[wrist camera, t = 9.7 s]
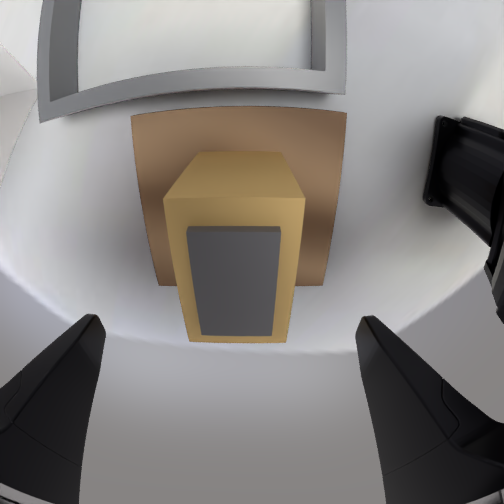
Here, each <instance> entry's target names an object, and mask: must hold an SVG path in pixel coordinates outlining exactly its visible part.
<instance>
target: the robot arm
mask: <svg viewBox="0 0 504 504" xmlns="http://www.w3.org/2000/svg"><path fill="white" fill-rule="evenodd" d="M443 121H444V125H443V124H442V123H443ZM430 196H431V198H430V199H429V197H430ZM423 201H424V202H425V203H426V204H427V205H429V206H437V207H445V208H446V209H447V210H449V211H450V212H451V213H452V214H454V215H455V216H456V217H457V218H458V219H459V220H461V221H462V222H463V223H464V224H465V225H466V226H468V227H469V228H470V229H471V230H472V231H473V232H474V233H475V234H476V235H478V236H479V237H480V238H481V239H482V240H483V241H484V242H485V243H486V244H487V245H488V246H489V247H491V248H490V252H489V256H488V260H486V262H485V266H484V270H485V272H486V275H487V277H488V279H489V281H490V284H491V286H492V294H493V296H494V299H495V302H496V305H497V309H496V313H497V315H498V316H499V318H500V319H501V321H502V322H503V324H504V130H503V129H500V128H497V127H495V126H492V125H489V124H486V123H483V122H480V121H477V120H474V119H470V118H467V117H463V118H461V122H459V121H456V120H454V119H451V118H448V117H445V116H439V117H438V118H437V121H436V129H435V136H434V143H433V150H432V156H431V162H430V167H429V172H428V177H427V182H426V186H425V191H424V195H423ZM105 338H106V332H105V329H104V327H103V325H102V323H101V321H100V319H99V317H98V316H97V315H95V314H86V315H85V316H83V317H82V318H81V319H80V320H79V321H77V322H76V323H75V324H74V325H72V326H71V327H70V328H69V329H68V330H67V331H65V332H64V333H63V334H62V335H61V336H59V337H58V338H57V339H56V340H55V341H54V342H52V343H51V344H50V345H49V346H48V347H47V348H45V349H44V350H43V351H42V352H41V353H40V354H39V355H37V356H36V357H35V358H34V359H33V360H32V361H31V362H30V363H29V364H27V365H26V366H25V367H24V368H23V369H22V371H20V372H19V373H17V374H16V375H15V376H14V377H13V378H12V379H11V380H10V381H9V382H8V383H6V384H5V385H4V386H3V387H2V388H0V504H79V492H80V479H81V470H82V467H81V466H82V460H83V453H84V446H85V439H86V433H87V427H88V422H89V417H90V412H91V407H92V402H93V398H94V393H95V389H96V385H97V381H98V377H99V372H100V367H101V360H102V354H103V349H104V343H105ZM355 338H356V344H357V351H358V356H359V363H360V371H361V377H362V381H363V385H364V389H365V393H366V398H367V402H368V406H369V410H370V414H371V419H372V424H373V428H374V433H375V438H376V443H377V448H378V453H379V459H380V464H381V470H382V475H383V484H384V490H385V497H386V504H504V423H500V422H497V421H495V420H493V419H491V418H490V417H489V416H487V415H486V414H485V413H483V412H482V411H481V410H480V409H478V408H477V407H476V406H475V405H473V404H472V403H471V402H470V401H468V400H467V399H466V398H465V397H463V396H462V395H461V394H460V393H459V392H458V391H456V390H455V389H454V388H453V387H452V386H451V385H450V384H449V383H448V382H447V381H446V380H445V379H442V377H441V376H440V375H439V374H438V373H437V372H436V371H435V370H434V369H433V368H432V367H431V366H430V365H429V364H427V363H426V362H425V361H424V360H423V359H422V358H421V357H420V356H419V355H418V354H417V353H416V352H414V351H413V350H412V349H411V348H410V347H409V346H408V345H407V344H406V343H404V342H403V341H402V340H401V339H400V338H399V337H398V336H397V335H396V334H395V333H393V332H392V331H391V330H390V329H389V328H388V327H387V326H386V325H384V324H383V323H382V322H381V321H380V320H379V319H378V318H376V317H375V316H373V315H371V316H363V317H362V318H361V321H360V323H359V326H358V328H357V331H356V335H355Z"/></svg>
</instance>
